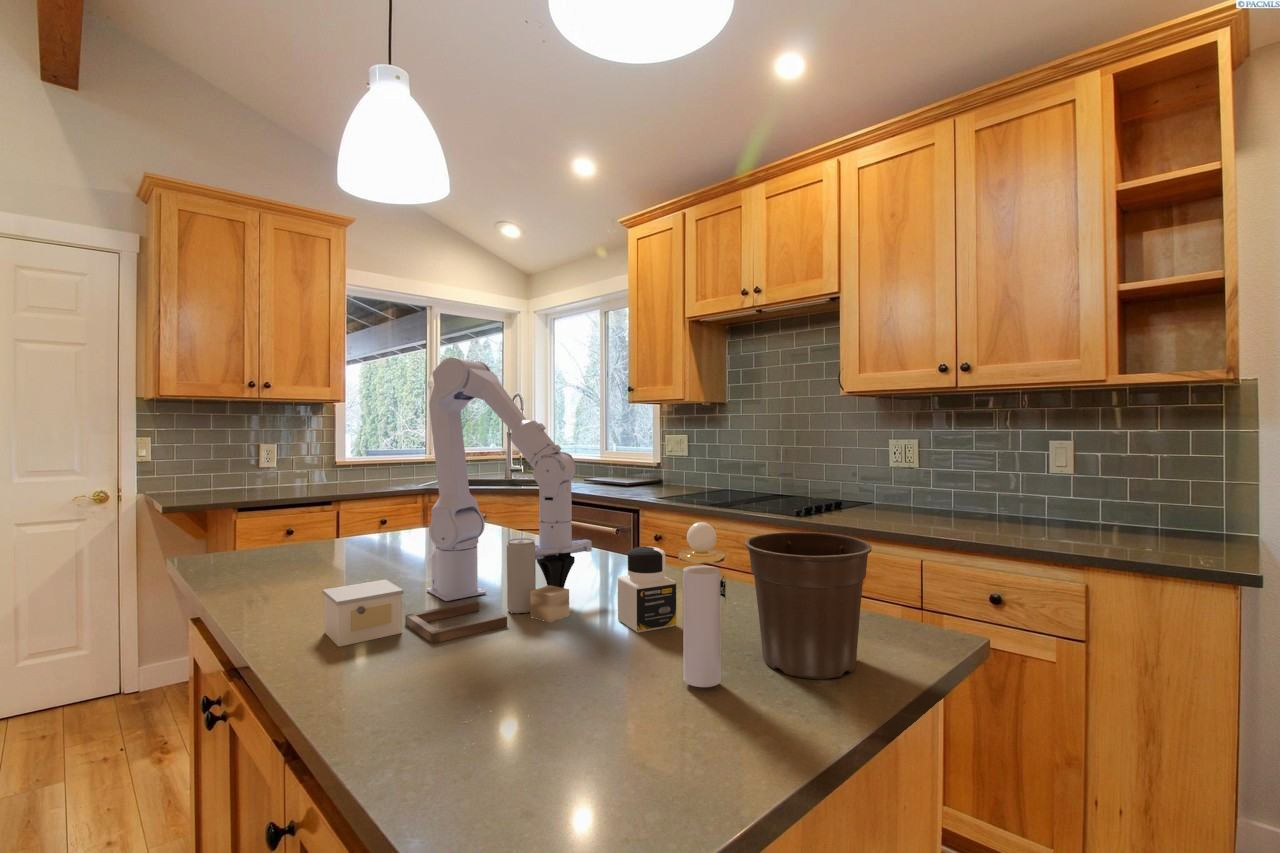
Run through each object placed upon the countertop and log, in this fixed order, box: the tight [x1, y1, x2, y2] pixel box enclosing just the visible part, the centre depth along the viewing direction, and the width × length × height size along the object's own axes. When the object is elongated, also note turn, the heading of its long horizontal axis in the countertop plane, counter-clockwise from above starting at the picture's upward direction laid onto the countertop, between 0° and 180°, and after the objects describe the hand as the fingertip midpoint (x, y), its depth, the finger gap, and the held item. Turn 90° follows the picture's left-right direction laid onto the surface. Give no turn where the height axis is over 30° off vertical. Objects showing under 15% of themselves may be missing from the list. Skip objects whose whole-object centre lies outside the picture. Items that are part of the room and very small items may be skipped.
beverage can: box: [506, 537, 537, 614], centre depth 105 cm, size 5×5×12 cm
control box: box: [322, 578, 404, 648], centre depth 94 cm, size 9×9×7 cm
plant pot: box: [744, 531, 873, 680], centre depth 82 cm, size 16×16×16 cm
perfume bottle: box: [677, 521, 727, 688], centre depth 75 cm, size 6×6×20 cm
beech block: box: [530, 585, 570, 623], centre depth 102 cm, size 4×4×4 cm
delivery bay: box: [404, 600, 508, 645], centre depth 97 cm, size 11×12×2 cm
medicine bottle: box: [617, 546, 677, 634], centre depth 98 cm, size 7×7×12 cm
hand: (555, 596), depth 109 cm, fingers closed
